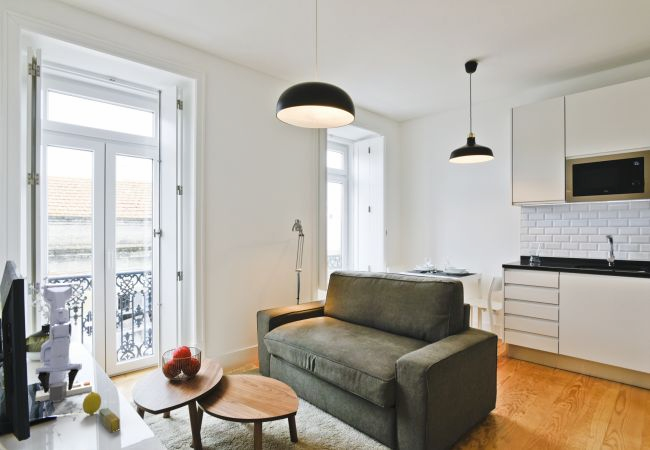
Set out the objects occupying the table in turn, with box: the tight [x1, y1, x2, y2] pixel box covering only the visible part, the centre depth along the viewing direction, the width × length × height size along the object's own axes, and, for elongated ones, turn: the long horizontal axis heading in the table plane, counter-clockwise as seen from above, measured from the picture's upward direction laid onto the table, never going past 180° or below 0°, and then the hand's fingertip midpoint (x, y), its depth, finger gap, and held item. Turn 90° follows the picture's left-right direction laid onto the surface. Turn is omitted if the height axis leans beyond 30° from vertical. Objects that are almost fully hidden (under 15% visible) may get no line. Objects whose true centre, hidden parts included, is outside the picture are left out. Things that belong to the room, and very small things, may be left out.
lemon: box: [82, 391, 102, 416], centre depth 127 cm, size 6×6×8 cm
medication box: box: [98, 407, 121, 433], centre depth 120 cm, size 12×3×4 cm, turn 49°
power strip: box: [34, 380, 93, 402], centre depth 144 cm, size 7×18×4 cm, turn 127°
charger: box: [48, 381, 68, 403], centre depth 137 cm, size 5×4×7 cm
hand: (58, 390), depth 137 cm, fingers open, 7 cm apart
